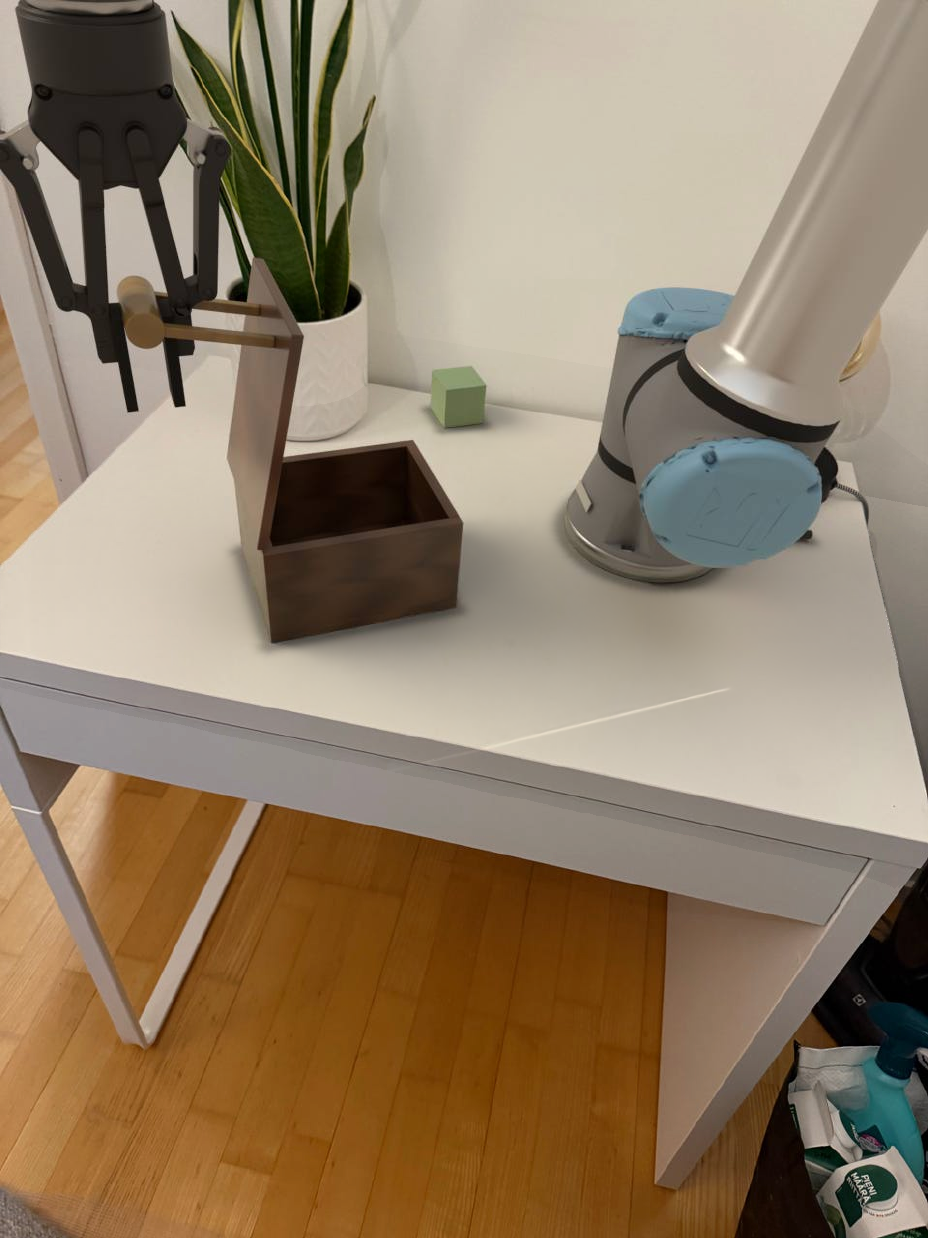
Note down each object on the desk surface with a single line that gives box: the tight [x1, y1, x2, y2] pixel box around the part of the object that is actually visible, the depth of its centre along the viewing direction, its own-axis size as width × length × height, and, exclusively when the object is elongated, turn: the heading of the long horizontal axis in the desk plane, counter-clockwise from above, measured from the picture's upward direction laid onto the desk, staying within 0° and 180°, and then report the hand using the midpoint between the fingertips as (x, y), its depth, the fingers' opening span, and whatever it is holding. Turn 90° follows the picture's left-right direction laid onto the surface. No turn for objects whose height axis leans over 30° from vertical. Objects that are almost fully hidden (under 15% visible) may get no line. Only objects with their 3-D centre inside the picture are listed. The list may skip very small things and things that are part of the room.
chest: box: [233, 439, 464, 644], centre depth 78 cm, size 16×13×9 cm
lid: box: [116, 257, 305, 550], centre depth 66 cm, size 17×13×10 cm
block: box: [429, 365, 488, 429], centre depth 102 cm, size 5×5×5 cm
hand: (154, 399), depth 65 cm, fingers closed on lid, 2 cm apart
